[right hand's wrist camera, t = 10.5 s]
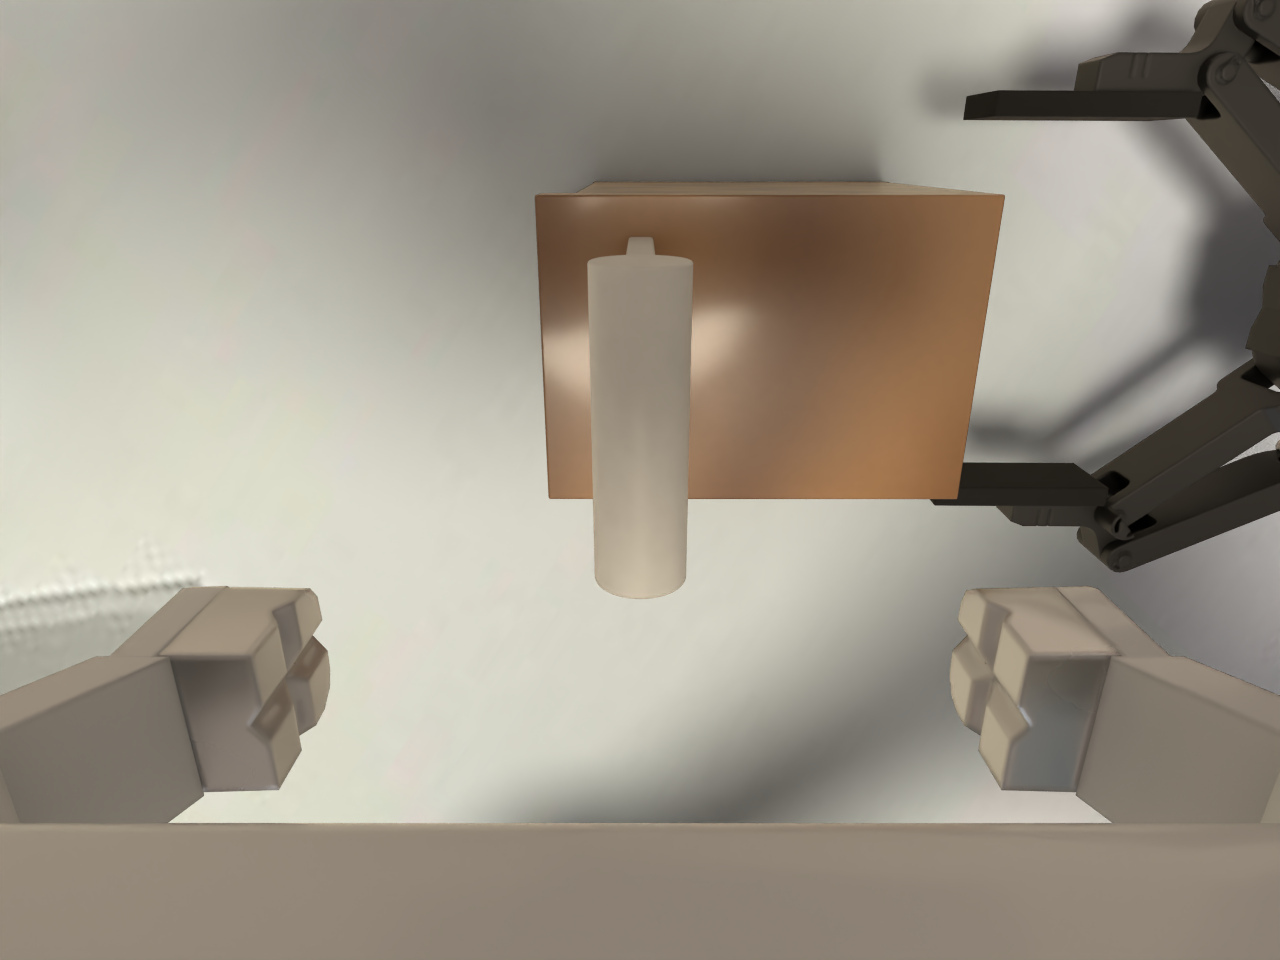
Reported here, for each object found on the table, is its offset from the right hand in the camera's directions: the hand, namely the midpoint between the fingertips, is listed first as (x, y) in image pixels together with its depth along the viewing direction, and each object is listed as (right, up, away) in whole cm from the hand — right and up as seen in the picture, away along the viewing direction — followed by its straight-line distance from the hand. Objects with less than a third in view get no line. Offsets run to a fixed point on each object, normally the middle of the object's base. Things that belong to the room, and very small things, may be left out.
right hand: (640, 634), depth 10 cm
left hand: (+11, +8, +19) cm, 24 cm away
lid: (+4, +6, +15) cm, 17 cm away
